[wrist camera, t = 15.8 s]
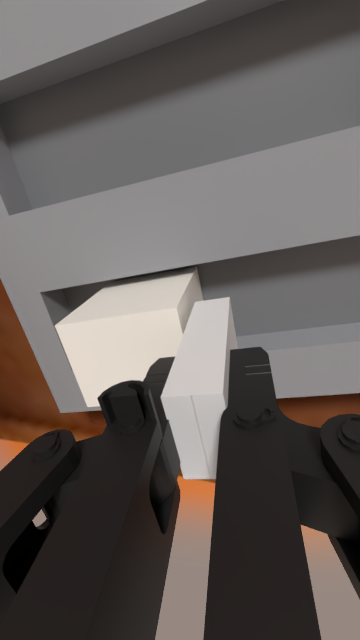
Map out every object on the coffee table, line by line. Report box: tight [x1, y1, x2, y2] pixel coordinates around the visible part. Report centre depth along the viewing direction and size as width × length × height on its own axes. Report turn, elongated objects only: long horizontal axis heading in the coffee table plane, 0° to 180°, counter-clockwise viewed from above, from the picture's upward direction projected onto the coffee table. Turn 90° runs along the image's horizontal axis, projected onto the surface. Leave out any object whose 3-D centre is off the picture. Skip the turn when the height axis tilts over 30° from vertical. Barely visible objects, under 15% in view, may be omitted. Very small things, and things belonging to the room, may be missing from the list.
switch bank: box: [0, 0, 360, 413], centre depth 14 cm, size 20×30×4 cm, turn 102°
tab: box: [55, 267, 204, 407], centre depth 15 cm, size 4×5×6 cm
